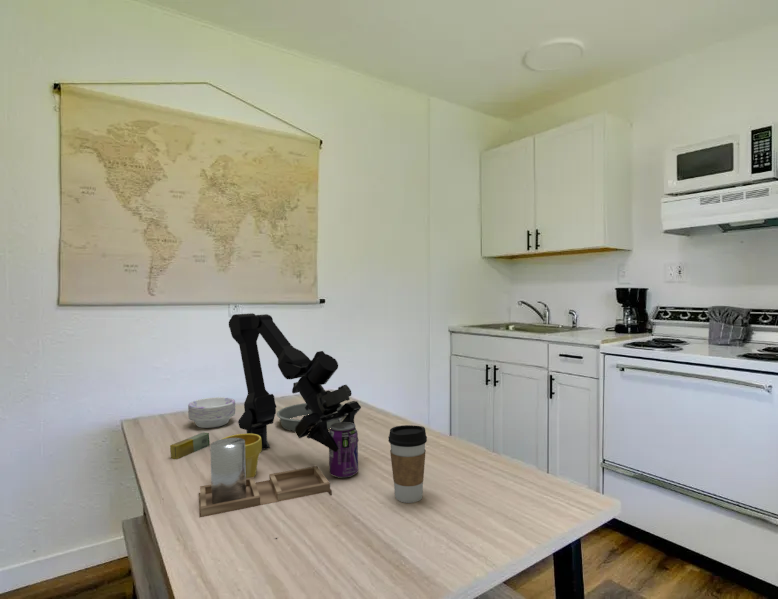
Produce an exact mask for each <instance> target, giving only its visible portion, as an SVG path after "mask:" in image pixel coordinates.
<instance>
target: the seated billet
mask: <svg viewBox="0 0 778 599" xmlns="http://www.w3.org/2000/svg"><path fill="white" fill-rule="evenodd" d="M209 448H210V479H211V480H210V481H211V483H210V485H211V487H212V503H213V504H217V503H222V502H227V501H233V500H238V499H243V498H246V460H245V440H244V439H241V438H226V439H222V438H221V439H217V440H215V441H213V442H212V443H211V444H210V446H209Z"/></svg>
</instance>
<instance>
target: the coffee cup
mask: <svg viewBox="0 0 778 599" xmlns="http://www.w3.org/2000/svg"><path fill="white" fill-rule="evenodd" d="M427 438H428V437H427V432H426V428H425V427H424V426H422V425H397V426H393V427H392V428H390V429H389V434H388V443H389V444H390V451H389V453H390V461H391V462H390V463H391V471H392V479H393V485H394V488H393V489H394V496H395V499H396V500H397V501H399V502H400V503H401V502H402V503H405V504H406V503H407V504H408V503H409V504H410V503H411V504H413V503H417V502H419V501H421V499H422V498H423V492H424V491H423V490H424V476H425V463H426V453H427V452H426V449H425V448H426V443H427V442H428V439H427Z"/></svg>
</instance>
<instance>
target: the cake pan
mask: <svg viewBox="0 0 778 599" xmlns="http://www.w3.org/2000/svg"><path fill="white" fill-rule="evenodd" d="M340 404H341V406H340V407H339V408H337V411H338V410H340V409H341V408H342V406H343V405H344V404H342V403H340ZM306 405H307V404H306V402H303V403H298V404H292V405H291V404H290V405H289V406H285V407H282V408H281V409H279V410H278V411H276V416H277V417H278V418H279V421H280V423H281V427H282V428H284V430H287V429H288V431H290V430H293V431H292V432H295V427H296V426H297V424H298V423H299V422H300V420H301V419H295V418H297V416H299V417H303V416H302V415H304V416H306V415H308V414H312V412H311V410H308V411H307V410H306V409H305V407H306ZM293 417H294V418H293ZM290 418H291V419H290ZM334 423H339V421H338V419H336V420H333V421H330V422H327V429H329V430H330V426H331V425H332V424H334Z"/></svg>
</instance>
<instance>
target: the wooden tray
mask: <svg viewBox="0 0 778 599" xmlns="http://www.w3.org/2000/svg"><path fill="white" fill-rule="evenodd" d="M268 476H269V479H268V480H261V481H257V482H256V480H255V476H254V477H251V478H246V498H243V499H238V500H233V501H227V502H222V503H217V504H213V503H212V487H211V484H206V485H201V486H199V488H200V489H199V492H198V506H199V508H198V512H199V516H198V517H199V518H205V517H209V516H214V515H219V514H223V513H229V512H235V511H239V510H243V509H249V508H254V507H259V506H263V505H269V504H274V503H279V502H283V501H284V502H285V501H289V500H293V499H297V498H298V499H299V498H303V497H309V496H313V495H318V494H323V493H324V494H325V493H327V494H328V495H329V496H332V495H333V491H332V488H331V483H330V482H329V480H328V479H327V477H326V476H325V475H324V474H323V472H322V471H321V469H320V467H318V465H313V466H309V467H303V468H297V469H291V470H285V471H280V472H273V473H269V475H268Z"/></svg>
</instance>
